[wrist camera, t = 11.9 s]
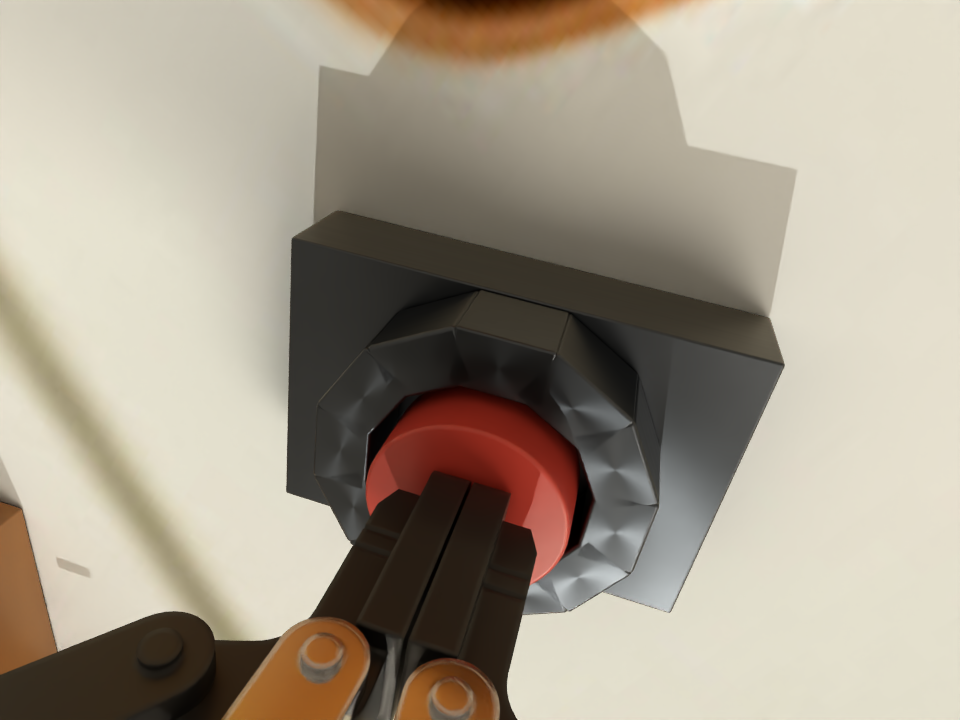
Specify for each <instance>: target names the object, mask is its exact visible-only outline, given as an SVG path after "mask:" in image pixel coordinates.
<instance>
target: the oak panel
mask: <svg viewBox="0 0 960 720" xmlns="http://www.w3.org/2000/svg"><path fill="white" fill-rule="evenodd" d="M56 652H57V649H56V645H55V641H54V637H53V633H52V629H51V625H50V621H49V617H48V613H47V609H46V605H45V601H44V597H43V593H42V589H41V585H40V581H39V577H38V573H37V569H36V565H35V561H34V557H33V553H32V549H31V545H30V541H29V537H28V533H27V529H26V525H25V521H24V517H23V513H22V510H21V509H20V508H17V507H14V506H11V505H8V504H5V503H2V502H0V675H1V674H3V673H6V672H8V671H11V670H14V669H16V668H19V667H21V666H24V665H26V664H29V663H31V662H34V661H36V660H39V659H41V658H44V657H46V656H49V655H51V654H54V653H56Z"/></svg>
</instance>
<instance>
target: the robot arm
mask: <svg viewBox="0 0 960 720" xmlns="http://www.w3.org/2000/svg"><path fill="white" fill-rule="evenodd" d="M510 497H511V493H509V492H505V491H502V490H499V489H495V488H492V487H489V486H485V485H482V484H479V483H475V482H474V483H473V485H472V487H471V481H468V480H465V479H461V478H458V477H455V476H452V475H448V474H445V473H442V472H438V471H433V472H432V474H431V476H430V477H429V479H428V481H427V483H426V485H425V487H424V489H423V491H422V493H421V495H417V494H414V493H411V492H407V491H404V490H401V489H398V490H396V491H395V492H394V493H392V494H391V495H389V496H388V497H386V498H385V499H384V500H382V501H381V502H379V503H378V504H377V506H376V507H375V509H374V511H373V512H372V514H371V516H370V517H369V519H368V521H367V523H366V524H365V528H364V529H362V531H361V533H360V535H359V536H358V538H357V540H356V541H355V545H354V546H352V548H351V550H350V552H349V553H348V555H347V557H346V558H345V560H344V562H343V563H342V565H341V567H340V569H339V570H338V572H337V574H336V575H335V577H334V579H333V581H332V582H331V584H330V586H329V587H328V589H327V591H326V592H325V594H324V596H323V598H322V599H321V601H320V603H319V604H318V606H317V608H316V609H315V611H314V612H313V614H312V615H311V616H310V617H309V619H307V620H304V621H302V622H299V623H297V624H296V625H294V626H292V627H291V628H290V629H289V630H287V631H286V632H285V633H284V634H283V635H282V636H280V637H277V638H274V639H269V640H263V641H228V640H214V636H213V633H212V630H211V629H210V627H209V626H208V625H207V624H206V623H205V622H204V621H203V620H202V619H200V618H199V617H197V616H195V615H192V614H189V613H185V612H175V611H173V612H163V613H158V614H154V615H151V616H148V617H145V618H142V619H140V620H137V621H135V622H132V623H130V624H127V625H125V626H122V627H120V628H117V629H115V630H112V631H110V632H107V633H105V634H102V635H99V636H97V637H94V638H92V639H89V640H87V641H84V642H82V643H79V644H77V645H74V646H72V647H69V648H67V649H64V650H62V651H59V652H56V653H54V654H51V655H49V656H46V657H44V658H41V659H39V660H36V661H34V662H31V663H29V664H26V665H24V666H21V667H19V668H16V669H14V670H11V671H8V672H6V673H3V674H1V675H0V720H393V719H394V720H517V718H516V717H515V715H514V713H513V711H512V709H511V706H510V703H509V700H508V694H507V678H508V672H509V668H510V664H511V660H512V656H513V651H514V647H515V643H516V639H517V635H518V631H519V627H520V623H521V618H522V614H523V610H524V606H525V601H526V598H527V594H528V589H529V585H530V581H531V577H532V573H533V569H534V565H535V561H536V556H537V551H536V547H535V543H534V539H533V535H532V531H531V529H528V528H525V527H522V526H518V525H515V524H512V523H509V522H505V517H506V514H507V510H508V506H509V502H510ZM394 716H395V717H394Z"/></svg>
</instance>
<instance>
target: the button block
mask: <svg viewBox="0 0 960 720" xmlns="http://www.w3.org/2000/svg"><path fill="white" fill-rule="evenodd" d="M784 366H785V364H784V361H783V358H782V355H781V351H780V348H779V345H778V342H777V339H776V336H775V333H774V330H773V326H772V323H771V320H770V318H768V317H764V316H760V315H756V314H752V313H748V312H744V311H740V310H736V309H732V308H728V307H724V306H720V305H716V304H712V303H708V302H704V301H699V300H695V299H691V298H687V297H683V296H679V295H675V294H671V293H667V292H663V291H659V290H655V289H651V288H647V287H643V286H639V285H635V284H631V283H627V282H623V281H619V280H615V279H611V278H607V277H603V276H599V275H595V274H591V273H587V272H583V271H579V270H575V269H571V268H567V267H563V266H559V265H555V264H551V263H547V262H543V261H539V260H535V259H531V258H527V257H523V256H519V255H515V254H511V253H507V252H503V251H499V250H495V249H491V248H487V247H483V246H479V245H474V244H470V243H466V242H462V241H458V240H454V239H450V238H446V237H442V236H438V235H434V234H430V233H426V232H422V231H418V230H414V229H410V228H406V227H402V226H398V225H394V224H390V223H386V222H382V221H378V220H374V219H370V218H366V217H362V216H358V215H354V214H350V213H346V212H342V211H335V212H334V213H332V214H330V215H329V216H327V217H325V218H324V219H322V220H320V221H319V222H317V223H315V224H314V225H312V226H311V227H309V228H307V229H306V230H304V231H302V232H301V233H299V234H297V235H296V236H294V237H293V238H292V249H291V296H290V344H289V391H288V438H287V486H286V492H287V493H290V494H293V495H296V496H299V497H303V498H306V499H309V500H312V501H315V502H319V503H322V504H325V505H328V506H330V507H331V509H332V511H333V513H334V515H335V517H336V518H337V520H338V522H339V524H340V526H341V528H342V530H343V531H344V533H345V535H346V537H347V539H348V540H349V541H350V543H351V544H352V545H353V546H354V545H355V541H356V540H357V538H358V536H359V535H360V533H361V531H362V529H364V528H365V524H366V523H367V521H368V519H369V517H370V514H369V511H368V507H367V501H366V480H367V475H368V471H369V469H370V466H371V463H372V462H373V460H374V458H375V456H376V455H377V453H378V452H379V450H380V449H381V447H382V446H383V444H384V443H385V441H386V439H387V438H388V436H389V435H390V433H391V432H392V430H393V429H394V427H395V426H396V424H397V423H398V421H399V420H400V418H401V417H402V415H403V414H404V412H405V411H406V409H407V408H408V407H409V406H410V405H411V403H412V402H414V401H415V400H416V399H417V398H418V397H419V396H421V395H422V394H425V393H430V392H434V391H439V390H444V389H449V388H454V387H459V386H461V387H465V388H469V389H472V390H476V391H479V392H483V393H486V394H490V395H494V396H497V397H501V398H504V399H508V400H511V401H515V402H519V403H522V404H526V405H527V406H528V407H529V408H530V409H532V410H533V411H534V412H535V413H536V414H537V415H538V416H540V417H541V418H542V419H543V420H544V421H545V422H547V423H548V424H549V425H550V426H551V427H552V428H553V429H555V430H556V431H557V432H558V433H559V434H560V435H561V436H563V437H564V438H565V439H566V440H567V441H568V442H569V443H571V444H572V445H573V446H574V447H575V449H576V451H577V455H578V459H579V465H580V483H579V488H578V493H577V499H576V504H575V509H574V514H573V520H572V525H571V530H570V535H569V540H568V544H567V547H566V549H565V552H564V554H563V556H562V557H561V559H560V560H559V562H558V563H557V565H556V566H555V567H554V568H553V569H552V570H551V571H550V572H549V573H548V574H547V575H545V576H544V577H543V578H541V579H540V580H538V581H536V582H535V583H533V584H531V585H529V589H528V594H527V598H526V601H525V606H524V610H523V614H522V615H530V614H546V613H562V612H566V611H572V610H573V609H575V608H577V607H578V606H580V605H582V604H583V603H585V602H586V601H588V600H590V599H591V598H593V597H595V596H596V595H598V594H600V593H601V592H605V593H608V594H611V595H614V596H617V597H621V598H624V599H627V600H630V601H633V602H636V603H640V604H643V605H646V606H649V607H652V608H656V609H659V610H662V611H665V612H668V613H670V612H671V611H672V608H673V606H674V604H675V602H676V600H677V598H678V595H679V593H680V591H681V589H682V587H683V585H684V582H685V580H686V578H687V576H688V574H689V572H690V570H691V567H692V565H693V563H694V561H695V559H696V557H697V554H698V552H699V550H700V548H701V546H702V544H703V541H704V539H705V537H706V535H707V533H708V531H709V528H710V526H711V524H712V522H713V520H714V518H715V515H716V513H717V511H718V509H719V507H720V505H721V502H722V500H723V498H724V496H725V494H726V492H727V489H728V487H729V485H730V483H731V481H732V479H733V477H734V474H735V472H736V470H737V468H738V466H739V464H740V461H741V459H742V457H743V455H744V453H745V451H746V448H747V446H748V444H749V442H750V440H751V438H752V435H753V433H754V431H755V429H756V427H757V425H758V422H759V420H760V418H761V416H762V414H763V412H764V409H765V407H766V405H767V403H768V401H769V399H770V396H771V394H772V392H773V390H774V388H775V386H776V384H777V381H778V379H779V377H780V375H781V373H782V371H783V368H784Z"/></svg>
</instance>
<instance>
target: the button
mask: <svg viewBox="0 0 960 720" xmlns="http://www.w3.org/2000/svg"><path fill="white" fill-rule="evenodd" d="M433 471H438V472H442V473H445V474H448V475H452V476H455V477H458V478H461V479H465V480H468V481H471V487H472V485H473V483H474V482H475V483H479V484H482V485H485V486H489V487H492V488H495V489H499V490H502V491H505V492H509V493H511V497H510V502H509V506H508V510H507V514H506V517H505V522H509V523H512V524H515V525H518V526H522V527H525V528H528V529H531V531H532V535H533V539H534V543H535V547H536V551H537V556H536V561H535V565H534V569H533V573H532V577H531V581H530V585H531V584H533V583H535V582H536V581H538V580H540V579H541V578H543V577H544V576H545V575H547V574H548V573H549V572H550V571H551V570H552V569H553V568H554V567H555V566H556V565H557V563H558V562H559V560H560V559H561V557H562V556H563V554H564V552H565V549H566V547H567V544H568V540H569V535H570V530H571V525H572V520H573V514H574V509H575V504H576V499H577V493H578V488H579V483H580V465H579V459H578V455H577V451H576V449H575V447H574V446H573V445H572V444H571V443H569V442H568V441H567V440H566V439H565V438H564V437H563V436H561V435H560V434H559V433H558V432H557V431H556V430H555V429H553V428H552V427H551V426H550V425H549V424H548V423H547V422H545V421H544V420H543V419H542V418H541V417H540V416H538V415H537V414H536V413H535V412H534V411H533V410H532V409H530V408H529V407H528V406H527V405H526V404H522V403H519V402H515V401H511V400H508V399H504V398H501V397H497V396H494V395H490V394H486V393H483V392H479V391H476V390H472V389H469V388H465V387H461V386H459V387H454V388H449V389H444V390H439V391H434V392H430V393H425V394H422V395H421V396H419V397H418V398H417V399H416V400H415V401H414V402H412V403H411V405H410V406H409V407H408V408H407V409H406V411H405V412H404V414H403V415H402V417H401V418H400V420H399V421H398V423H397V424H396V426H395V427H394V429H393V430H392V432H391V433H390V435H389V436H388V438H387V439H386V441H385V443H384V444H383V446H382V447H381V449H380V450H379V452H378V453H377V455H376V456H375V458H374V460H373V462H372V463H371V466H370V469H369V471H368V475H367V480H366V501H367V507H368V511H369V514H370V516H371V514H372V512H373V511H374V509H375V507H376V506H377V504H378V503H379V502H381V501H382V500H384V499H385V498H386V497H388V496H389V495H391V494H392V493H394V492H395V491H396V490H398V489H401V490H404V491H407V492H411V493H414V494H417V495H421V493H422V491H423V489H424V487H425V485H426V483H427V481H428V479H429V477H430V476H431V474H432V472H433Z"/></svg>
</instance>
